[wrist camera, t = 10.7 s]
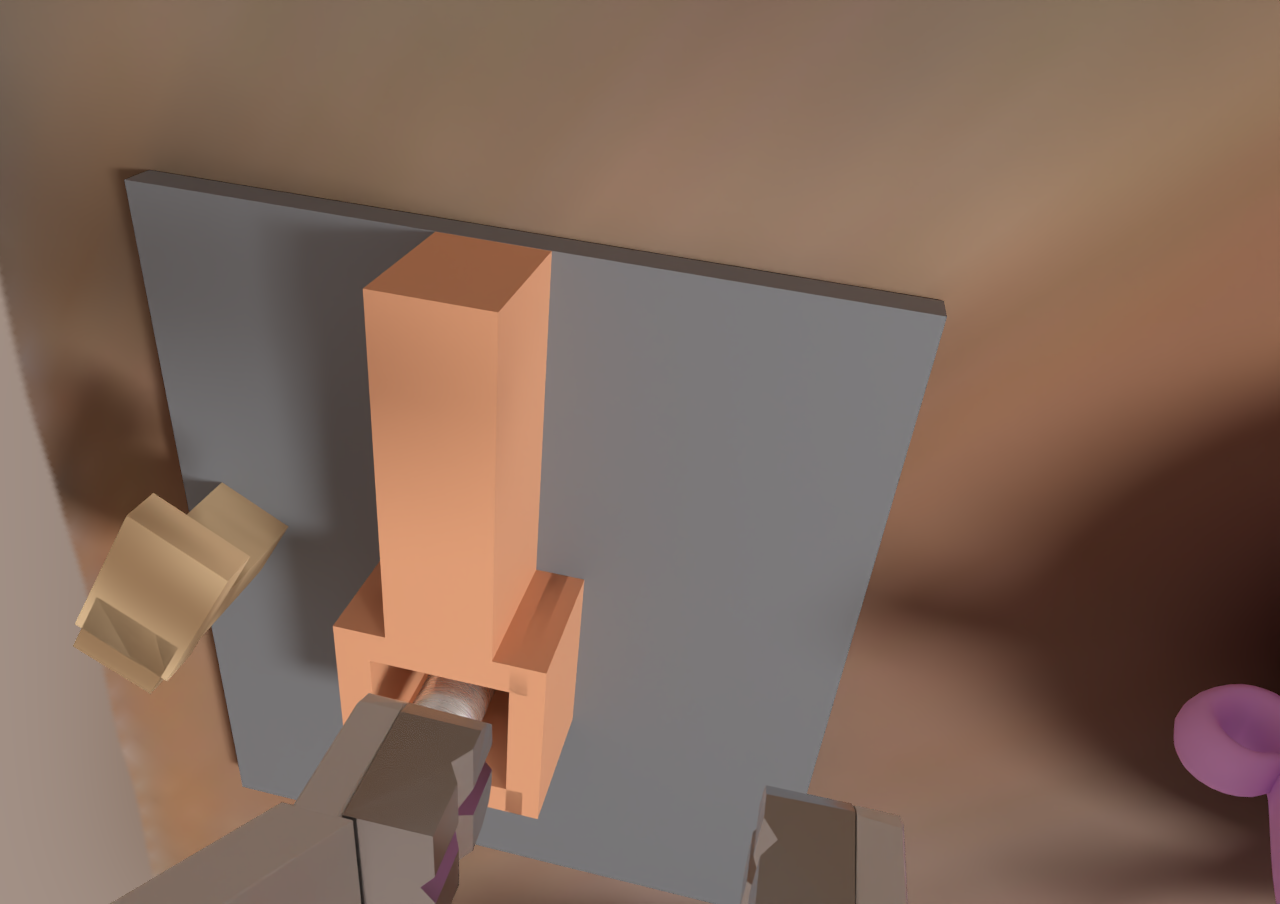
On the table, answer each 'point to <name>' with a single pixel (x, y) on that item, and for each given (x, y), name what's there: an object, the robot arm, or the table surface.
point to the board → (559, 502)
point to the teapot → (1235, 748)
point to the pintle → (455, 697)
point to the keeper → (172, 581)
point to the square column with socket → (464, 505)
